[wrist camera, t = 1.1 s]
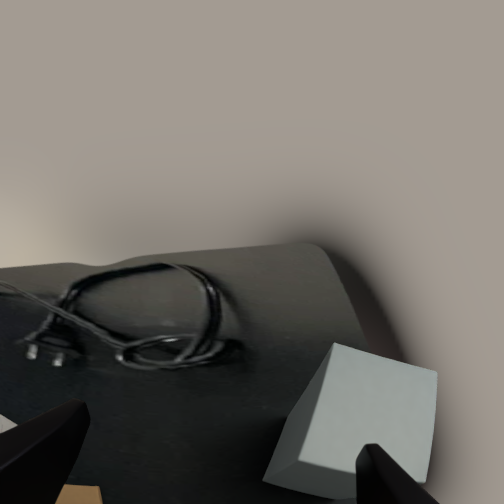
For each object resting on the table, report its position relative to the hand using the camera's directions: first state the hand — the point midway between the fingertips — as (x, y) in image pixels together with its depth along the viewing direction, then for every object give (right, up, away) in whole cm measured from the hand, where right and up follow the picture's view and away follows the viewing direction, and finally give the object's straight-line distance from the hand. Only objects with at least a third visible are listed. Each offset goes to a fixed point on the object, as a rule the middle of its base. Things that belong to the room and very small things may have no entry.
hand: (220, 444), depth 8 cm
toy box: (+5, -10, +11) cm, 16 cm away
